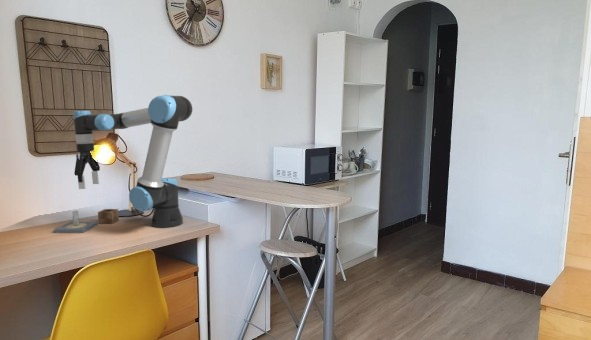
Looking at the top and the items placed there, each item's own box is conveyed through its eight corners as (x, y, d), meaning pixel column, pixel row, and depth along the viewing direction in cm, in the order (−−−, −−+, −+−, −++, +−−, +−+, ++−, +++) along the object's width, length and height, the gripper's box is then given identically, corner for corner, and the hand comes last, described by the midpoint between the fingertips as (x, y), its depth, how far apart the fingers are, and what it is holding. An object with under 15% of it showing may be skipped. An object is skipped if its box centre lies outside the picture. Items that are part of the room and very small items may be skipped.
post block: (98, 224, 214) (96, 208, 213) (82, 232, 200) (81, 215, 199) (70, 224, 215) (69, 208, 214) (53, 232, 201) (51, 215, 200)
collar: (118, 220, 222) (118, 209, 221) (112, 224, 215) (111, 212, 214) (105, 220, 223) (104, 209, 222) (98, 224, 216) (97, 212, 215)
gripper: (89, 141, 221) (93, 182, 224) (62, 145, 196) (67, 191, 199) (104, 140, 220) (108, 181, 223) (79, 144, 196) (83, 190, 199)
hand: (89, 186), depth 211 cm, fingers open, 13 cm apart
